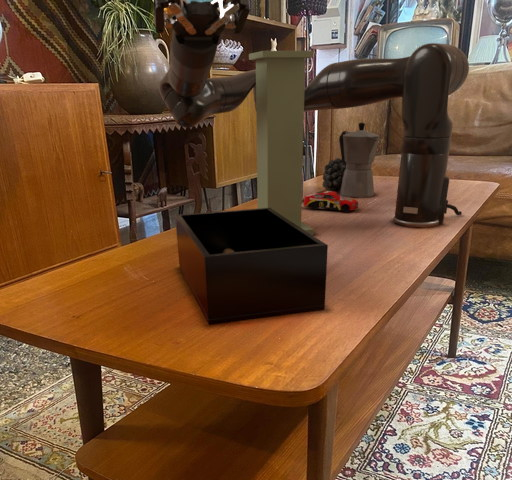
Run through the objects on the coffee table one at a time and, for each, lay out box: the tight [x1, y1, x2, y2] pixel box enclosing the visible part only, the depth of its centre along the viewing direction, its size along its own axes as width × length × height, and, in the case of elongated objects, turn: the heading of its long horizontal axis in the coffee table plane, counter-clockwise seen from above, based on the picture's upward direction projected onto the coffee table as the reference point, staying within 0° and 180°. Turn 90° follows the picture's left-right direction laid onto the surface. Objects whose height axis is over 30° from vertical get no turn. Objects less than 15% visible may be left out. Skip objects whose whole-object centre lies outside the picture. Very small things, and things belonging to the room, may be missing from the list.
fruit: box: [321, 157, 346, 192], centre depth 144 cm, size 9×8×15 cm
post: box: [248, 50, 315, 236], centre depth 99 cm, size 11×11×32 cm
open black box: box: [174, 208, 329, 326], centre depth 74 cm, size 24×16×9 cm, turn 16°
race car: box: [303, 190, 360, 214], centre depth 123 cm, size 13×5×4 cm, turn 64°
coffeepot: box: [338, 122, 381, 199], centre depth 137 cm, size 15×9×18 cm, turn 28°
